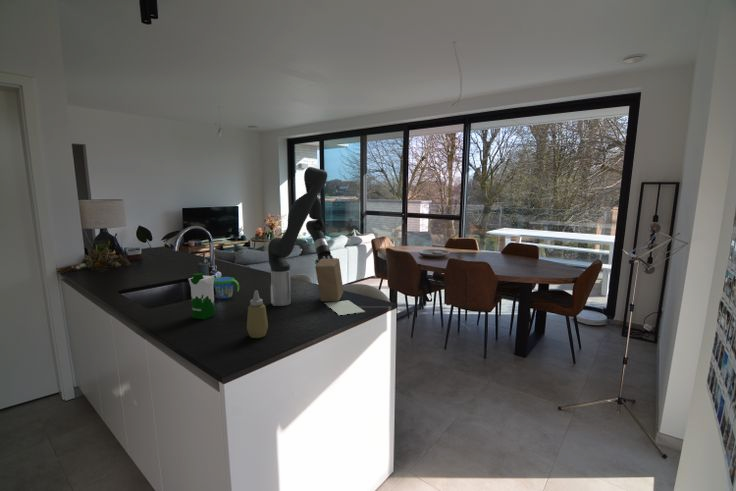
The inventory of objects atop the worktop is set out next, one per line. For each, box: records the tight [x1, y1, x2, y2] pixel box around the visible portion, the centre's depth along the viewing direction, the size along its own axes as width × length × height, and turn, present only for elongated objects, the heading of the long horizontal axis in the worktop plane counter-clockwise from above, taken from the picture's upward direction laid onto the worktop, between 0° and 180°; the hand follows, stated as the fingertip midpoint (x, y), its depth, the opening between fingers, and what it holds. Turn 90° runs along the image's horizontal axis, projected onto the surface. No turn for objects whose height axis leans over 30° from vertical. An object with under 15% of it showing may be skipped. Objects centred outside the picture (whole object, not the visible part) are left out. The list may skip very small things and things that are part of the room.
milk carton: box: [187, 272, 217, 320], centre depth 164 cm, size 9×9×20 cm
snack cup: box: [213, 276, 240, 300], centre depth 195 cm, size 16×10×10 cm
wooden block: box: [314, 258, 344, 302], centre depth 189 cm, size 10×10×20 cm
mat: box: [324, 300, 366, 317], centre depth 179 cm, size 13×20×1 cm, turn 26°
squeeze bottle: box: [246, 290, 269, 339], centre depth 142 cm, size 8×8×18 cm
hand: (330, 274), depth 194 cm, fingers closed
